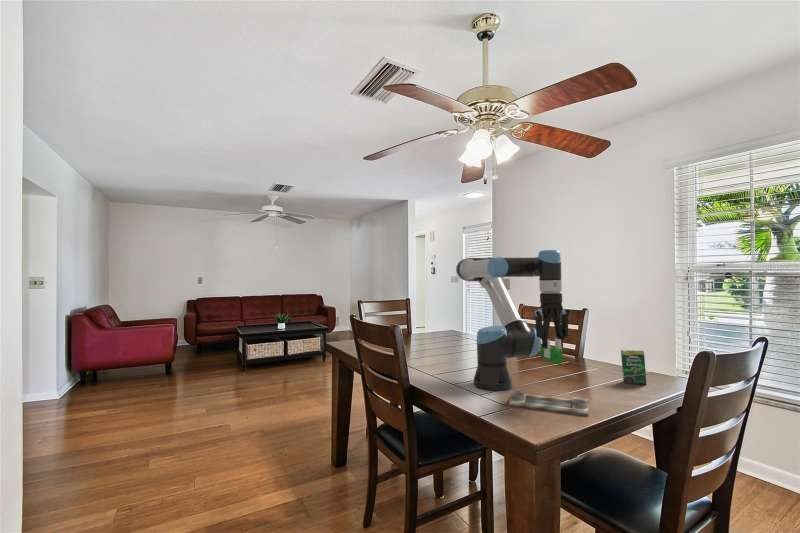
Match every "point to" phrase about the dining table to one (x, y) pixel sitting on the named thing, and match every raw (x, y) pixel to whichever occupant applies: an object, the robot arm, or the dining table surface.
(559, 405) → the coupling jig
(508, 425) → the dining table surface
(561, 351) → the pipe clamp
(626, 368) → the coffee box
